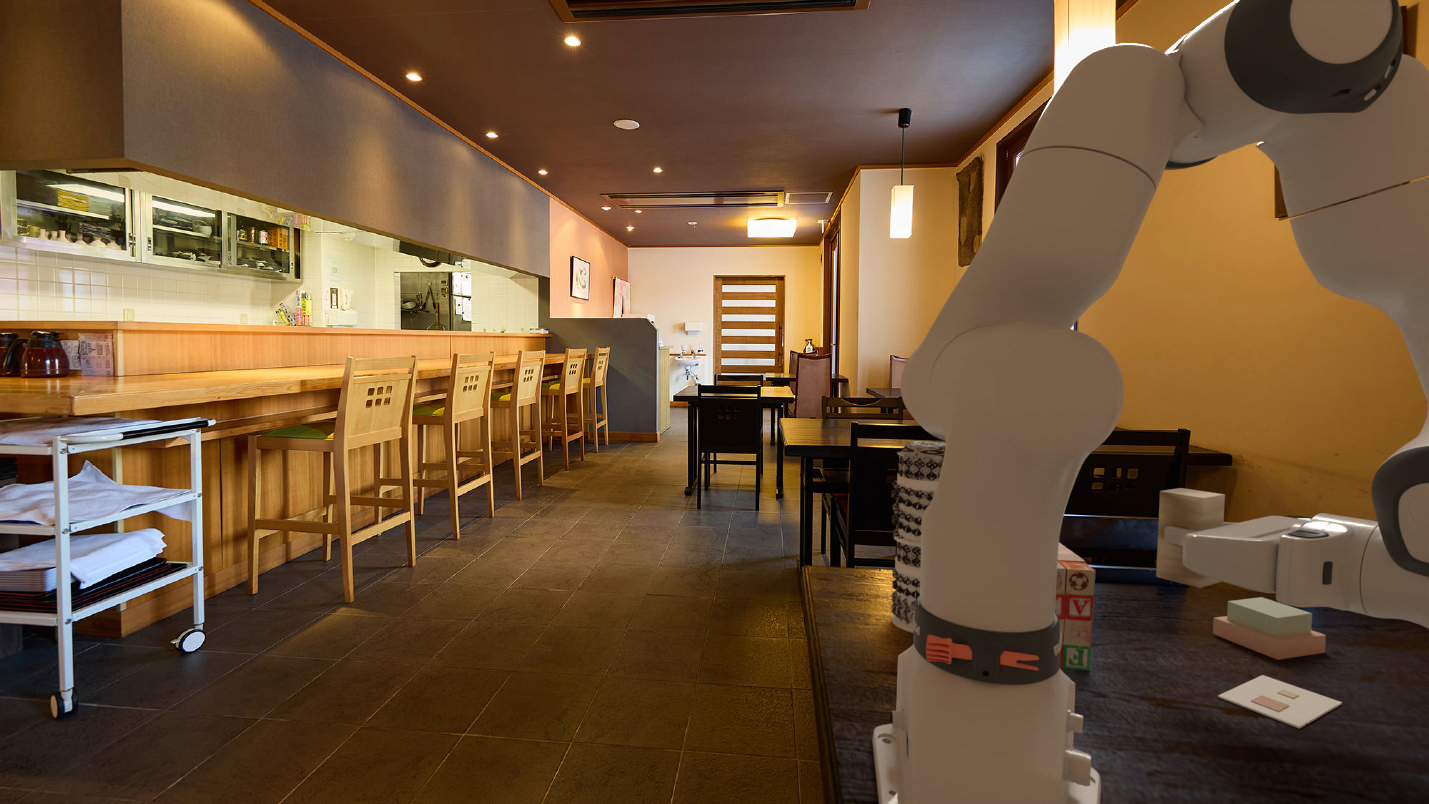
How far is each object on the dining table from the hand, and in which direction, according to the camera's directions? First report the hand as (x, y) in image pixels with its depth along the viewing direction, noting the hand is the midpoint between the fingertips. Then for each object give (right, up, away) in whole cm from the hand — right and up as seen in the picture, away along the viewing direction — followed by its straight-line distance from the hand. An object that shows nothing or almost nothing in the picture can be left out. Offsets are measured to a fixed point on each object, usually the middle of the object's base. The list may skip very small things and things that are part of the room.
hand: (1181, 529), depth 76 cm
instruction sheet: (+7, -17, -6) cm, 19 cm away
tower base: (+18, -17, +9) cm, 26 cm away
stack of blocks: (-11, -16, +12) cm, 23 cm away
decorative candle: (-25, -16, +15) cm, 33 cm away
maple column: (0, -6, 0) cm, 6 cm away
